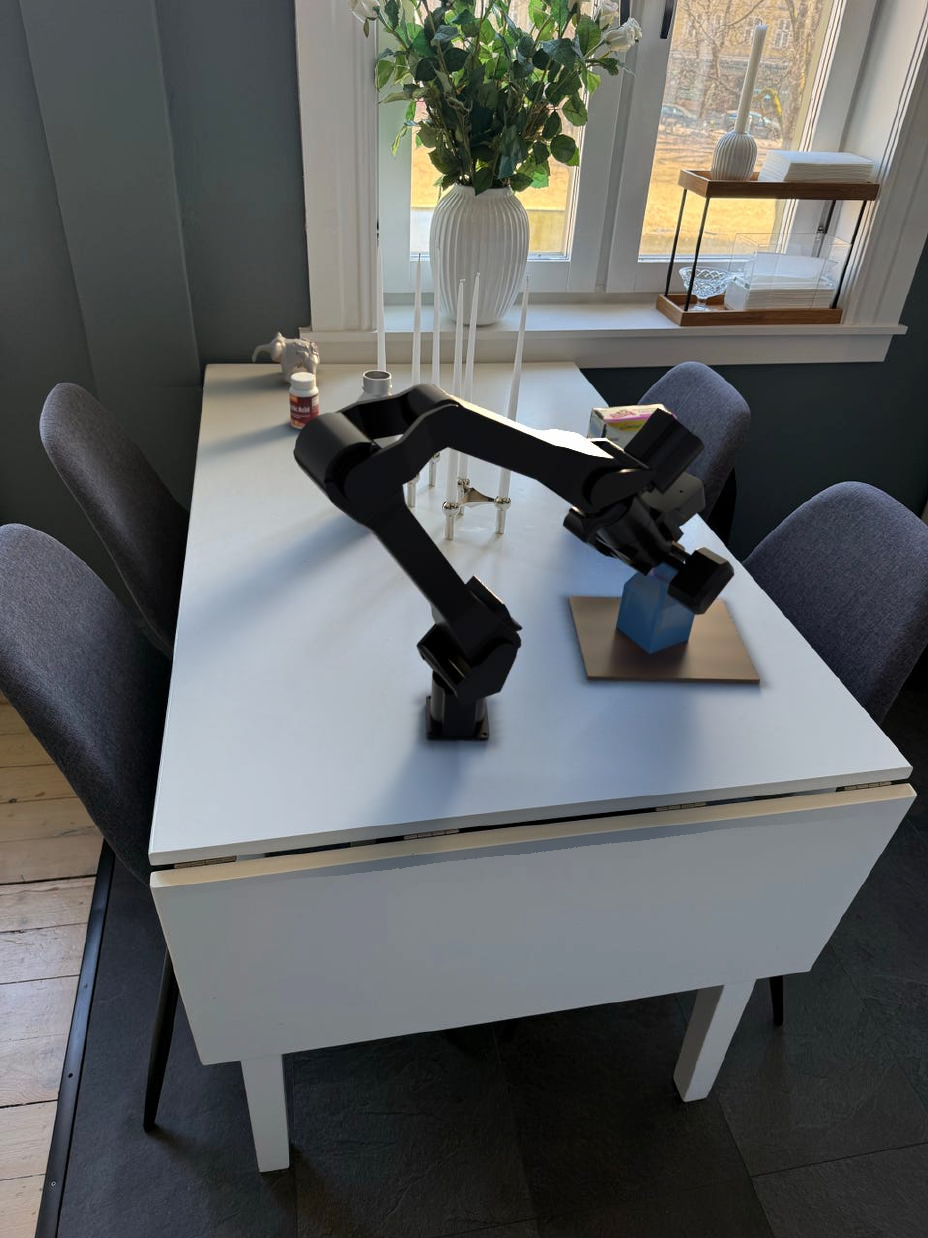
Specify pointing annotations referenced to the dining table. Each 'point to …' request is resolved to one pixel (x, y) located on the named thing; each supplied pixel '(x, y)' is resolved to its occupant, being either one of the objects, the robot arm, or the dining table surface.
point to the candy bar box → (620, 422)
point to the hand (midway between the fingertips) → (675, 579)
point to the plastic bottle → (377, 394)
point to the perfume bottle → (653, 610)
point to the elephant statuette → (291, 354)
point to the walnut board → (698, 659)
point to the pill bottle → (303, 399)
